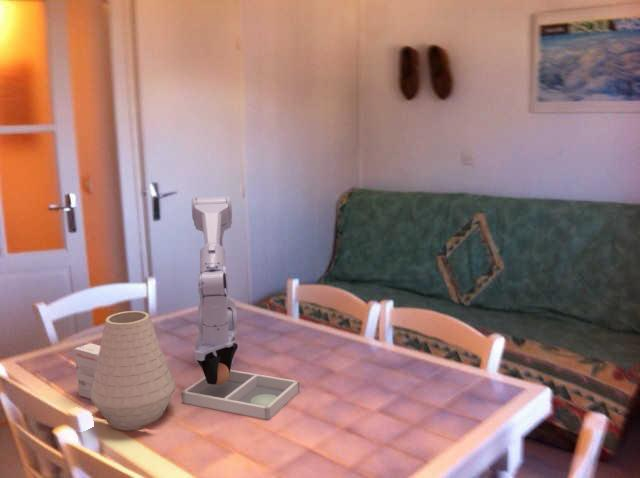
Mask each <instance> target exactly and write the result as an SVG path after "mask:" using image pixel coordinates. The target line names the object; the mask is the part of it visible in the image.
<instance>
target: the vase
mask: <svg viewBox="0 0 640 478" xmlns="http://www.w3.org/2000/svg"><path fill="white" fill-rule="evenodd" d="M99 346H100V350H99V355H98V360H97V365H96V370H95V375H94V380H93V385H92V390H91V399H90V400H91V402H92V404H93V405H94V407H95V408H96V409H97V410H98V411H99V413H100V414H101V415H102V417H103V418H104V419H105V421H107V423H108V424H109V426H110V427H111V428H113V429H114V430H118V431H123V432H127V431H128V432H130V431H131V432H132V431H139V430H143V429H145V427H143V426H147V425H150V424H152V423H154V422H156V421H158V420H159V419H160V418H161V417H162V416H163V415H164V413H165V411H166V409H167V406H168V405H169V403H170V400H171V399H172V397H173V394H174V392H175V389H176V382H175V380H174V377H173V375H172V372H171V369H170V367H169V366H170V365H169V364H168V361H167V359H166V356H165V353H164V351H163V348H162V346H161V343H160V340H159V338H158V335H157V332H156V330H155V327H154V325H153V322H152V320H151V317H150V314H149V313H147V312H146V311H143V310H128V311H127V310H126V311H121V312H115V313H113V314H111V315H109V316H107V317H106V318H105V321H104V326H103V332H102V337H101V341H100V345H99Z"/></svg>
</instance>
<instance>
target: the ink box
mask: <svg viewBox="0 0 640 478" xmlns="http://www.w3.org/2000/svg"><path fill="white" fill-rule="evenodd" d="M73 350H74V358H75V367H76V378H77V389H78V396H79V397H83V398H87V399H89V400H91V390H92V385H93V380H94V375H95V370H96V365H97V360H98V355H99V350H100V345H98V344H95V343H91V342H89V343H87V344H85V345H81V346H78V347H75V348H74V349H73Z"/></svg>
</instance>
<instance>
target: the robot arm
mask: <svg viewBox="0 0 640 478" xmlns="http://www.w3.org/2000/svg"><path fill="white" fill-rule="evenodd" d="M232 206H233V205H232V197H231V196H230V195H222V196H193V197H192V198H191V217H192V220H193V226H194V227H195V230H197V231H200V232H203V238H204V245H203V246H202V247H201V248H200V250H199V251H200V252H199V265H200V266H199V273H198V275H197V288H198V289H197V290H198V296H199V303H198V305H197V306H198V308H197V310H198V311H197V321H198V322H197V323H198V333H197V335H196V337H195V340H194V341H195V342H194V348H195V349H194V360H195V363H196V364H197V365H199V367H200V368H201V370H202V372H203V375H204V377H205V378H206V381H207V383H208V384H213V385H215V384H216V383H217V370H218V364H219V363H223V364H225V365H226V366H227V367H228V369H229V374H230V370H232V365H233V364H234V363H235V353H236V352H237V349H238V347H239V345H238V343H235V342H234V341H236V340H237V339H238V334H237V333H238V332H237V329H238V311H237V303H236V300H235V299H233V298H232V297H230V296H229V295H228V294H229V278H228V272H227V267H226V250H225V248H224V246H223V238H224V234H225V231H227V230H229V229H231V228H232V225H233V221H232V219H233V209H232ZM225 289H226V290H225Z"/></svg>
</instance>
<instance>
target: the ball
mask: <svg viewBox="0 0 640 478" xmlns="http://www.w3.org/2000/svg"><path fill="white" fill-rule="evenodd" d="M228 377H229V369H228V367H227V366H226V365H225V364H223V363H219V364H218V370H217V383H216V384H215V385H220V384H223V383H225V382H226V381H227V379H228Z"/></svg>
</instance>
